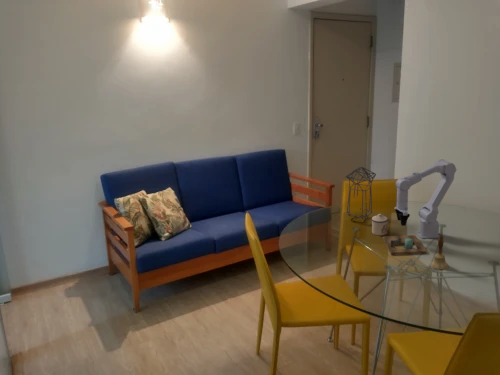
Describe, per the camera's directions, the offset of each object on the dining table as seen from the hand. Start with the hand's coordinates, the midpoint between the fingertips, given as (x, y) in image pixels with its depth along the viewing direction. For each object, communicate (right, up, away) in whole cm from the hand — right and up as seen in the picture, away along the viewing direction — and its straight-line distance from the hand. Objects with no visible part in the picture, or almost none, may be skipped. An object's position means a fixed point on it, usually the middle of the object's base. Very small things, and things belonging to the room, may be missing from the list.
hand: (401, 222), depth 240 cm
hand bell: (+9, -19, -28) cm, 35 cm away
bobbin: (+1, -13, -8) cm, 16 cm away
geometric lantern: (-14, -1, +34) cm, 37 cm away
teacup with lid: (-7, -7, +14) cm, 17 cm away
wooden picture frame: (-1, -12, -5) cm, 13 cm away
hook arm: (-6, -13, -8) cm, 17 cm away
